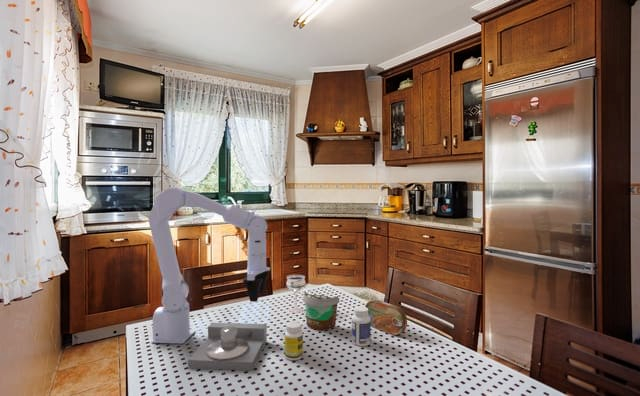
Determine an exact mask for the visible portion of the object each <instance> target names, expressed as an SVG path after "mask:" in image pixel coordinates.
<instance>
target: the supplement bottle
mask: <svg viewBox="0 0 640 396" xmlns="http://www.w3.org/2000/svg"><path fill="white" fill-rule="evenodd" d="M302 326H303V325H302V323H301V322H299V321H290V322H287V323H286V326H285V329H286V331H285V333H284V356H285V357H284V358H285V359H287V360H289V361H298V360H300V359H302V358H303V355H304V333H303V330H302V329H303V327H302Z"/></svg>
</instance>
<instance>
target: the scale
mask: <svg viewBox="0 0 640 396" xmlns="http://www.w3.org/2000/svg"><path fill="white" fill-rule="evenodd" d="M267 325H268V324H267V323H264V324H263V323H239V322H238V323H236V322H235V323H234V322H211V323H210V324H209V325H208V327H207V338H206V339H205V340H204V342H202V344H201V345H200V346H199V347H198V348H197V349H196V350H195V352H194V353H193V354H191V356H190V357H189V358H188V359H187V368H188V369H203V370H204V369H208V370H229V371H231V370H232V371H253V370H254V368H255V366H256V364H257V361H258V360H259V358H260V356H261V354H262V352H263V349H264V347H265V346H266V343H267V341H268V339H267V338H268V337H267V334H268V333H267V331H268V330H267V327H268V326H267ZM229 326H233V327H236V328H237V338H240V339H244V340H245V341H247V342H248V351H247V352H246V353H245V354H244V355H242V356H240V357H238V358H235V359H231V360H214V359H211V358H209V357H208V356H207V347H208V346H209V345H210V344H211V343H213V342H215V341H217V340H220V339H221V329H222V328H224V327H229Z"/></svg>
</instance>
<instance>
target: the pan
mask: <svg viewBox="0 0 640 396" xmlns="http://www.w3.org/2000/svg"><path fill="white" fill-rule="evenodd" d="M247 351H248V342H247V341H245V340H244V339H240V338H237V347H236V348H235V349H233V350H228V351H226V350H222V349H221V339H220V340H217V341H215V342H213V343H211V344H210V345H209V346H208V347H207V356H208V357H209V358H211V359H214V360H231V359H235V358H238V357H240V356H242V355H244V354H245V353H246V352H247Z"/></svg>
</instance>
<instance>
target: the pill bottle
mask: <svg viewBox="0 0 640 396" xmlns="http://www.w3.org/2000/svg"><path fill="white" fill-rule="evenodd" d="M353 313H354V314H353V315H352V316H351V343H352V344H354V345H355V346H358V347H366V346H368V345H370V344H371V328H372V326H371V319H370V317H369V316H368V308H366V307H365V306H356V307H354V309H353Z"/></svg>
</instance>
